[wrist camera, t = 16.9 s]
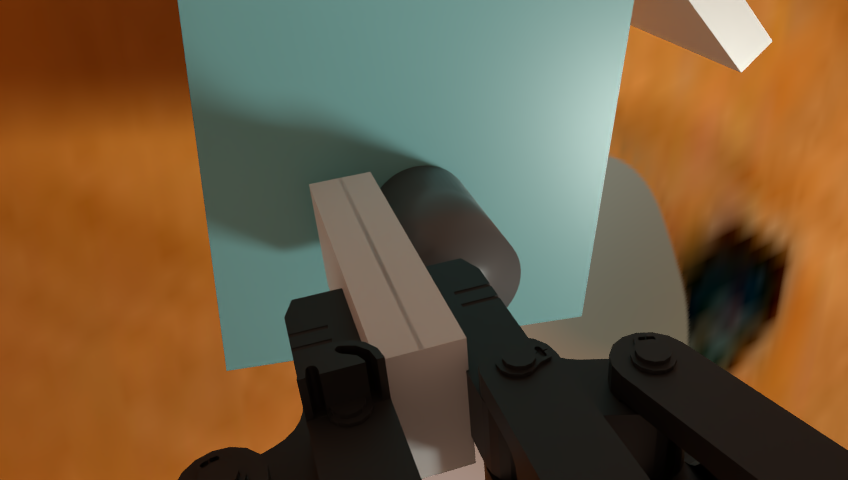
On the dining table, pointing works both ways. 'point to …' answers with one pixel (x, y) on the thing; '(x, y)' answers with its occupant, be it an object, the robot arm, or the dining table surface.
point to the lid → (402, 141)
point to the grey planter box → (705, 28)
